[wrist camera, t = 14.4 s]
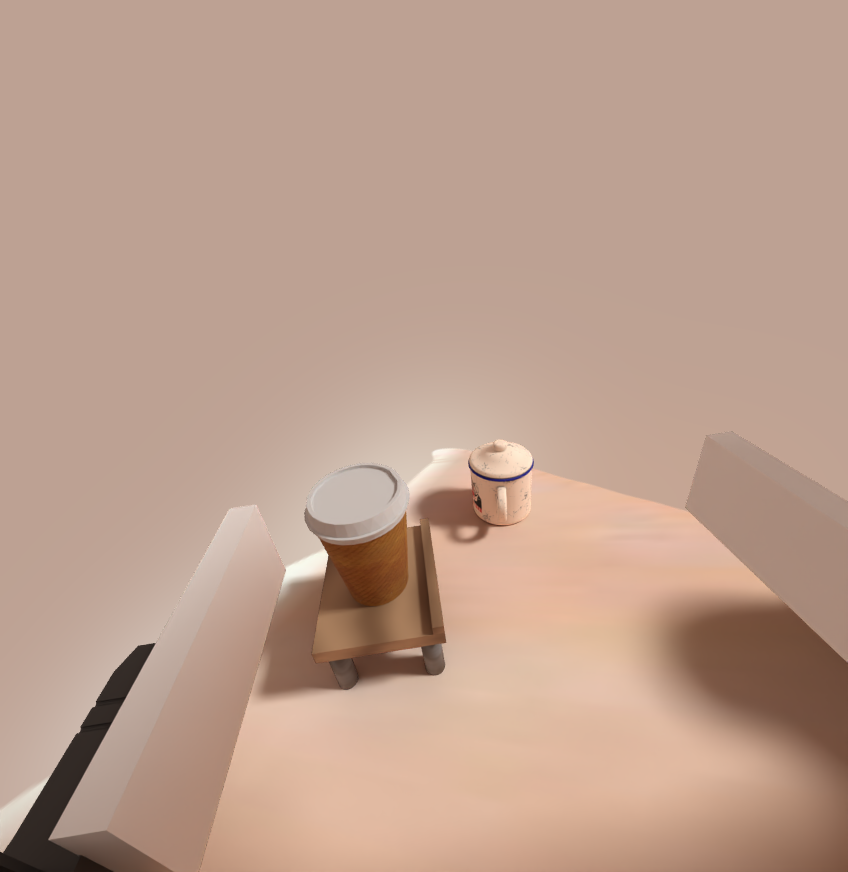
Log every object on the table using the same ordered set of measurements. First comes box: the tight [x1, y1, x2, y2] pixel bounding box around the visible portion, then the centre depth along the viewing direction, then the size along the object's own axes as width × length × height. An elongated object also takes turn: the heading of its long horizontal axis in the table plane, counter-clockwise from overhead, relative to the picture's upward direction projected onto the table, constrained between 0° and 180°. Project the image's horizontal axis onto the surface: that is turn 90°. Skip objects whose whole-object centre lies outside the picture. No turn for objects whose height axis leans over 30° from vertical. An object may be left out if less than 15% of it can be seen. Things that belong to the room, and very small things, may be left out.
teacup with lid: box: [468, 439, 534, 525], centre depth 54 cm, size 12×9×12 cm
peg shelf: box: [312, 518, 446, 689], centre depth 41 cm, size 12×14×8 cm
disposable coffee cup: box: [304, 463, 409, 606], centre depth 37 cm, size 10×10×12 cm
